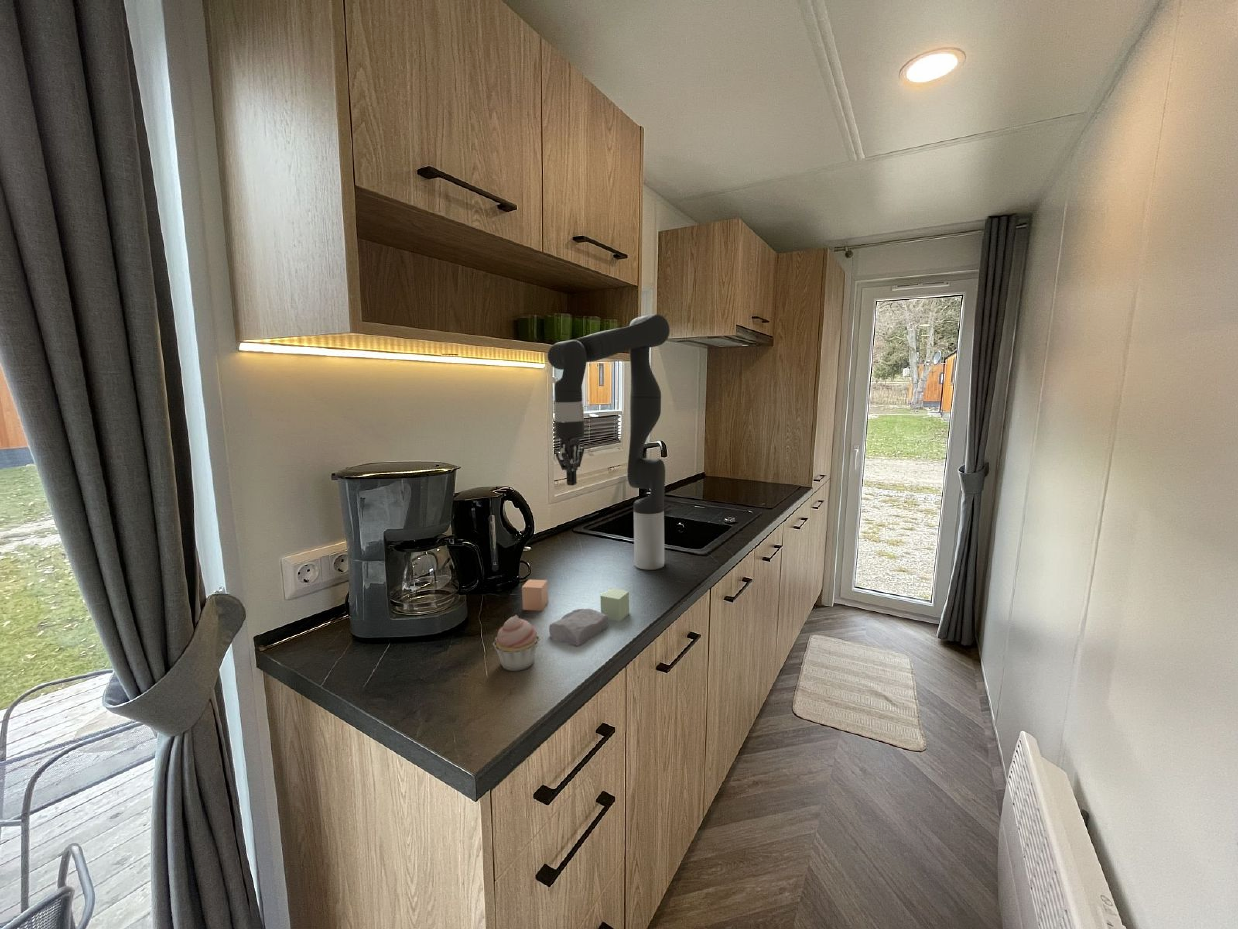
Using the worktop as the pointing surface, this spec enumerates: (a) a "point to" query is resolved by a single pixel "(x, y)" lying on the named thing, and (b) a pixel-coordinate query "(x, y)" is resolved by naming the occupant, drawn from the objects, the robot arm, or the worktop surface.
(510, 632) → the cupcake
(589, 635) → the stone block
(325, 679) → the worktop surface
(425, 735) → the worktop surface
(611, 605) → the sage block
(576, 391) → the robot arm
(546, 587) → the terracotta block
